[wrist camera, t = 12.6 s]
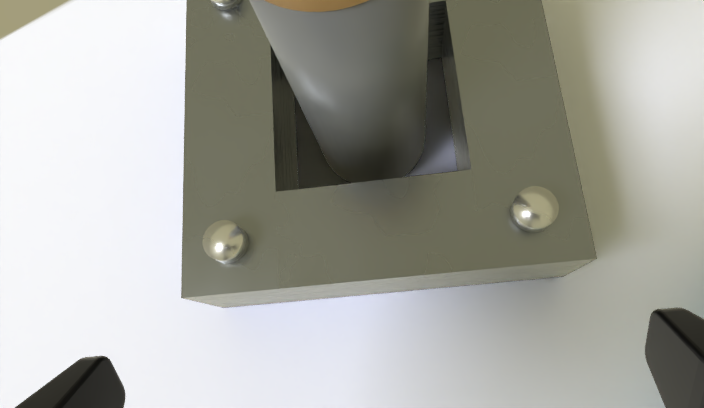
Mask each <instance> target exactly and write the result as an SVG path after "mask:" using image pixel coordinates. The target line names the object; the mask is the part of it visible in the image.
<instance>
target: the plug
mask: <svg viewBox="0 0 704 408" xmlns="http://www.w3.org/2000/svg"><path fill="white" fill-rule="evenodd" d="M249 1H250V3H251V5H252V7H253V9H254V11H255V13H256V15H257V17H258V19H259V21H260V24H261V26H262V28H263V30H264V32H265V34H266V36H267V38H268V40H269V42H270V44H271V46H272V48H273V51H274V53H275V55H276V57H277V59H278V61H279V63H280V65H281V67H282V69H283V71H284V73H285V75H286V77H287V80H288V82H289V84H290V86H291V88H292V90H293V92H294V94H295V96H296V98H297V100H298V102H299V104H300V107H301V109H302V111H303V113H304V115H305V117H306V119H307V121H308V123H309V125H310V127H311V129H312V131H313V134H314V136H315V138H316V140H317V142H318V144H319V146H320V148H321V150H322V152H323V154H324V156H325V158H326V161H327V163H328V164H329V166H330V167H331V168H332V170H333V171H334V172H335V173H336V174H337V175H339V176H340V177H341V178H343V179H344V180H346V181H348V182H350V183H358V182H367V181H375V180H384V179H393V178H402V177H404V176H405V175H406V174H407V173H409V172H410V171H411V170H412V169H413V168H414V166H415V165H416V164H417V162H418V161H419V159H420V157H421V155H422V152H423V149H424V144H425V125H426V92H427V58H428V24H429V0H249Z"/></svg>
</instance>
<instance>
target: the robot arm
mask: <svg viewBox="0 0 704 408" xmlns="http://www.w3.org/2000/svg"><path fill="white" fill-rule="evenodd" d="M645 356H646V360H647V363H648V366H649V368H650V371H651V373H652V376H653V378H654V381H655V383H656V385H657V388H658V390H659V393H660V395H661V397H662V400H663V402H664V405H665V407H666V408H704V319H702V318H700V317H699V316H697V315H695V314H693V313H691V312H690V311H688V310H686V309H683V308H667V309H657V310H655V311H653V313H652V314H651V317H650V322H649V328H648V333H647V339H646V345H645ZM124 403H125V390H124V387H123V385H122V383H121V381H120V379H119V377H118V375H117V373H116V371H115V369H114V367H113V365H112V363H111V361H110V359H108V358H107V357H105V356H95V357H85V358H82V359H80V360H78V361H77V362H75V363H74V364H73V365H71V366H70V367H69V368H67V369H66V370H65V371H63V372H62V373H61V374H59V375H58V376H57V377H55V378H54V379H53V380H51V381H50V382H49V383H47V384H46V385H45V386H43V387H42V388H41V389H39V390H38V391H37V392H35V393H34V394H32V395H31V396H30V397H28V398H27V399H26V400H24V401H23V402H22V403H20V404H19V405H18V406H16V407H15V408H123V407H124Z"/></svg>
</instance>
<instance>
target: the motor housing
mask: <svg viewBox="0 0 704 408" xmlns="http://www.w3.org/2000/svg"><path fill="white" fill-rule="evenodd" d="M436 58H442V65H443V72H444V79H445V86H446V93H447V100H448V107H449V114H450V121H451V128H452V135H453V141H454V148H455V155H456V162H457V169H458V171H455V172H446V173H437V174H428V175H419V176H411V177H402V178H393V179H384V180H375V181H367V182H358V183H349V184H340V185H331V186H323V187H314V188H305V189H299V179H298V158H297V138H296V118H295V98H294V92H293V90H292V88H291V86H290V84H289V82H288V80H287V77H286V75H285V73H284V71H283V69H282V67H281V65H280V63H279V61H278V59H277V57H276V55H275V53H274V51H273V48H272V46H271V44H270V42H269V40H268V38H267V36H266V34H265V32H264V30H263V28H262V26H261V24H260V21H259V19H258V17H257V15H256V13H255V11H254V9H253V7H252V5H251V3H250V1H249V0H187V14H186V70H185V125H184V181H183V236H182V292H181V298H183V299H188V300H192V301H196V302H201V303H205V304H209V305H214V306H218V307H223V308H227V307H238V306H249V305H259V304H270V303H281V302H292V301H303V300H314V299H325V298H336V297H346V296H357V295H368V294H379V293H390V292H401V291H412V290H423V289H433V288H444V287H455V286H466V285H477V284H488V283H499V282H510V281H520V280H531V279H542V278H553V277H563V276H565V275H567V274H569V273H571V272H573V271H575V270H577V269H578V268H580V267H582V266H584V265H586V264H588V263H590V262H592V261H593V260H595V259H597V257H596V253H595V248H594V243H593V239H592V234H591V229H590V225H589V220H588V215H587V211H586V206H585V201H584V197H583V192H582V187H581V183H580V178H579V174H578V169H577V164H576V160H575V155H574V150H573V146H572V141H571V136H570V132H569V127H568V122H567V118H566V113H565V108H564V104H563V99H562V95H561V90H560V85H559V81H558V76H557V71H556V67H555V62H554V57H553V53H552V48H551V43H550V39H549V34H548V29H547V25H546V20H545V15H544V11H543V6H542V2H541V0H429V24H428V58H427V60H429V59H436Z"/></svg>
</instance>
